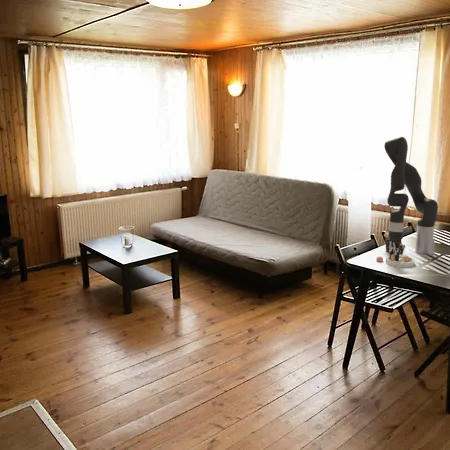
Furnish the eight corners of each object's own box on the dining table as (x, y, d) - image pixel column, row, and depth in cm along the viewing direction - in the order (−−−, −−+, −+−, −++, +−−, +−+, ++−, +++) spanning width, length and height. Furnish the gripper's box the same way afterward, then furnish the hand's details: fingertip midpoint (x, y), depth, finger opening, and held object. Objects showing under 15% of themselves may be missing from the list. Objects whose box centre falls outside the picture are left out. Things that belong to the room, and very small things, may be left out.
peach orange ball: (381, 261, 267) (382, 255, 266) (383, 263, 264) (384, 257, 263) (375, 261, 267) (375, 255, 266) (377, 263, 264) (377, 257, 263)
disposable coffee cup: (381, 253, 282) (383, 234, 279) (384, 249, 290) (385, 230, 287) (398, 255, 277) (399, 236, 275) (400, 251, 286) (402, 232, 283)
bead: (389, 259, 261) (389, 253, 260) (394, 259, 262) (394, 252, 261) (393, 261, 257) (393, 255, 256) (398, 260, 258) (399, 254, 258)
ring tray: (408, 260, 268) (408, 254, 268) (418, 268, 254) (418, 262, 253) (382, 260, 269) (382, 255, 268) (390, 268, 254) (391, 263, 254)
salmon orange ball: (407, 260, 264) (408, 254, 263) (410, 262, 261) (410, 256, 260) (401, 260, 264) (401, 254, 263) (403, 262, 261) (404, 256, 260)
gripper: (382, 227, 261) (380, 257, 265) (399, 233, 248) (397, 264, 252) (393, 226, 263) (391, 255, 267) (410, 231, 250) (408, 262, 254)
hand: (394, 259), depth 259 cm, fingers closed on bead, 3 cm apart
